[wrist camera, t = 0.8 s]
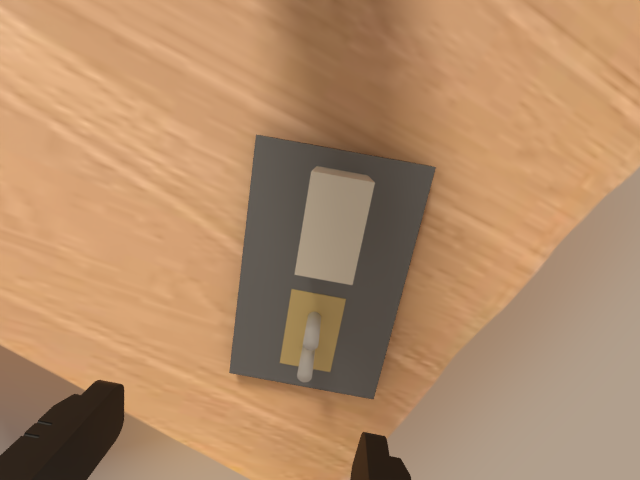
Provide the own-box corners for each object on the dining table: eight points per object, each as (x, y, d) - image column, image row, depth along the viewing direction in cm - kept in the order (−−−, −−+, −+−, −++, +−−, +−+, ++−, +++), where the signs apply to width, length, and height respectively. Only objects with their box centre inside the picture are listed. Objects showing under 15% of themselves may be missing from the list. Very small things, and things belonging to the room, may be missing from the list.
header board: (260, 135, 27) (240, 132, 21) (430, 166, 26) (454, 171, 21) (234, 362, 33) (213, 405, 27) (371, 388, 33) (378, 435, 27)
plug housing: (316, 166, 25) (311, 171, 20) (367, 175, 25) (375, 182, 20) (302, 250, 27) (294, 274, 22) (349, 258, 27) (352, 285, 22)
